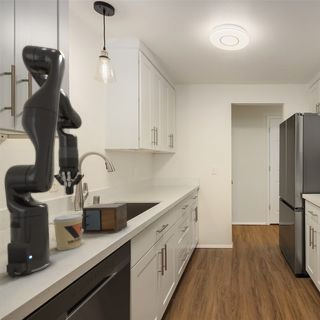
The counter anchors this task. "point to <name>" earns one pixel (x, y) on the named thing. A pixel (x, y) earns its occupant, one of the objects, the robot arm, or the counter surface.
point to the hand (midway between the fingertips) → (69, 194)
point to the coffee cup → (68, 231)
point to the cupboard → (109, 217)
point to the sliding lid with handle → (91, 220)
